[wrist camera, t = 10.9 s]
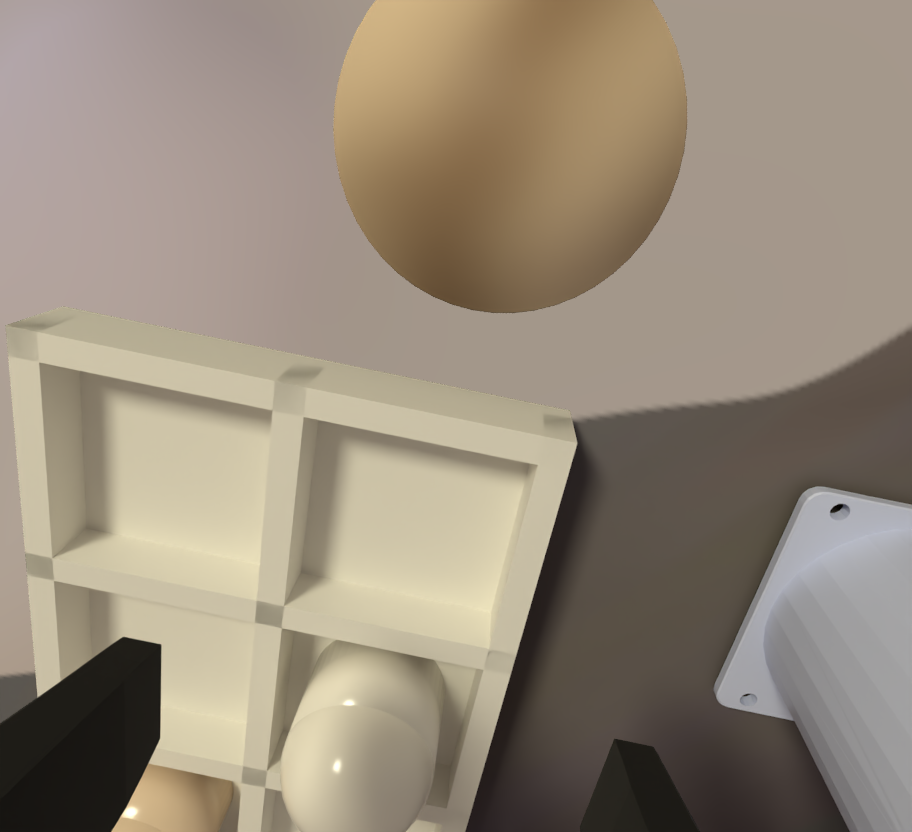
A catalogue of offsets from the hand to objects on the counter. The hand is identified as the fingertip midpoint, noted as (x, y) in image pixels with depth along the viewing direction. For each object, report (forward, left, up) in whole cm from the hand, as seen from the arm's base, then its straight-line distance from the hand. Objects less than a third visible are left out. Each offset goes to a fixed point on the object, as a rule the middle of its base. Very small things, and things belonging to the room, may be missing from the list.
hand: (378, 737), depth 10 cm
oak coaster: (0, -9, -9) cm, 13 cm away
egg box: (+4, +8, -9) cm, 13 cm away
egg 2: (+1, +8, -9) cm, 12 cm away
